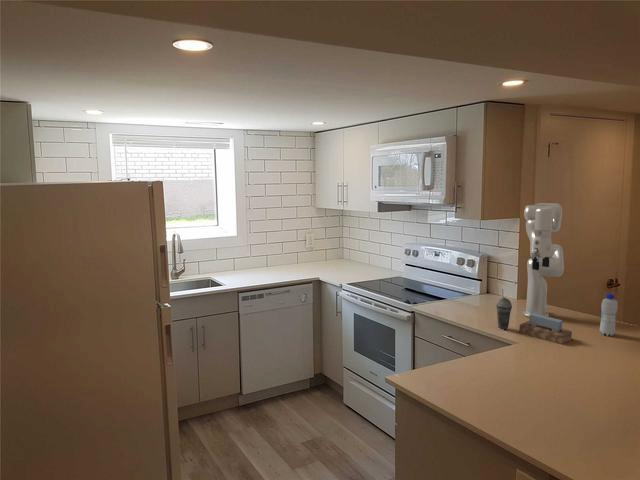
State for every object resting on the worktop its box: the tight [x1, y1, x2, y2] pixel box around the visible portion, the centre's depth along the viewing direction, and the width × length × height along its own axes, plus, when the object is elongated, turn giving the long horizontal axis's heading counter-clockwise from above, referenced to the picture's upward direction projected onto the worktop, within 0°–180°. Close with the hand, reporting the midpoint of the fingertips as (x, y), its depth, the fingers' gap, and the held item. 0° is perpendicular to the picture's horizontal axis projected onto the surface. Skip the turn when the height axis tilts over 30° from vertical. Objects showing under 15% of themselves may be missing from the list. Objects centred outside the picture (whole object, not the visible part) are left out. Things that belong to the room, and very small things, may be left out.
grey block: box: [528, 313, 564, 333], centre depth 224 cm, size 14×4×9 cm, turn 38°
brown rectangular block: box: [518, 320, 573, 345], centre depth 224 cm, size 20×10×4 cm, turn 38°
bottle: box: [599, 293, 619, 337], centre depth 224 cm, size 7×7×20 cm
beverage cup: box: [495, 288, 513, 330], centre depth 233 cm, size 7×7×20 cm
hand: (540, 268), depth 231 cm, fingers open, 9 cm apart
